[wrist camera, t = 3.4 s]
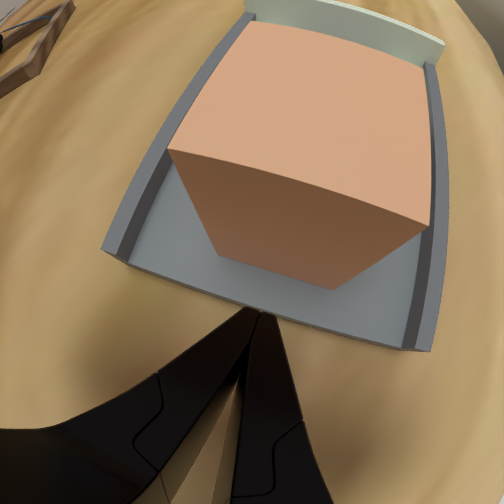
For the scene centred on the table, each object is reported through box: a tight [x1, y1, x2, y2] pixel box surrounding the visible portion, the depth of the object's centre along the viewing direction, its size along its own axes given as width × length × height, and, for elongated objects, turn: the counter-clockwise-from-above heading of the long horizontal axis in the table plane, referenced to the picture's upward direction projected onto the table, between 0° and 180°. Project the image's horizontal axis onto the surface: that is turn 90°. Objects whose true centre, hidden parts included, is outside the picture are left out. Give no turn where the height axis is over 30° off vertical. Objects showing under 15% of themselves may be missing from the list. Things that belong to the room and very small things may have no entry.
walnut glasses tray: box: [0, 0, 75, 98], centre depth 25 cm, size 22×24×2 cm
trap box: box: [101, 0, 449, 352], centre depth 16 cm, size 24×17×6 cm
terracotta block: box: [167, 21, 431, 290], centre depth 11 cm, size 6×6×9 cm
